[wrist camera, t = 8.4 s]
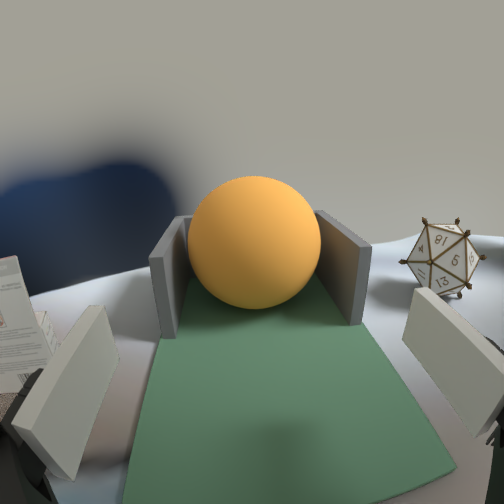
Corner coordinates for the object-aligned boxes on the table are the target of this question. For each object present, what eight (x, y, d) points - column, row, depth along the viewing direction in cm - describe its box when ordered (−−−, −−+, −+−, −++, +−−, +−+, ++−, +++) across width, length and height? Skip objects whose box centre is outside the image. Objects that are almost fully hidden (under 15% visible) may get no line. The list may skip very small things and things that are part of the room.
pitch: (320, 268, 35) (323, 209, 32) (453, 470, 9) (521, 372, 7) (180, 276, 33) (174, 215, 31) (122, 519, 8) (45, 437, 6)
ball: (343, 315, 21) (295, 301, 31) (341, 165, 21) (296, 197, 32) (182, 319, 19) (188, 301, 29) (189, 151, 19) (192, 192, 30)
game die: (413, 327, 28) (370, 249, 28) (445, 280, 31) (409, 210, 31) (482, 324, 20) (440, 226, 20) (504, 268, 23) (469, 184, 23)
